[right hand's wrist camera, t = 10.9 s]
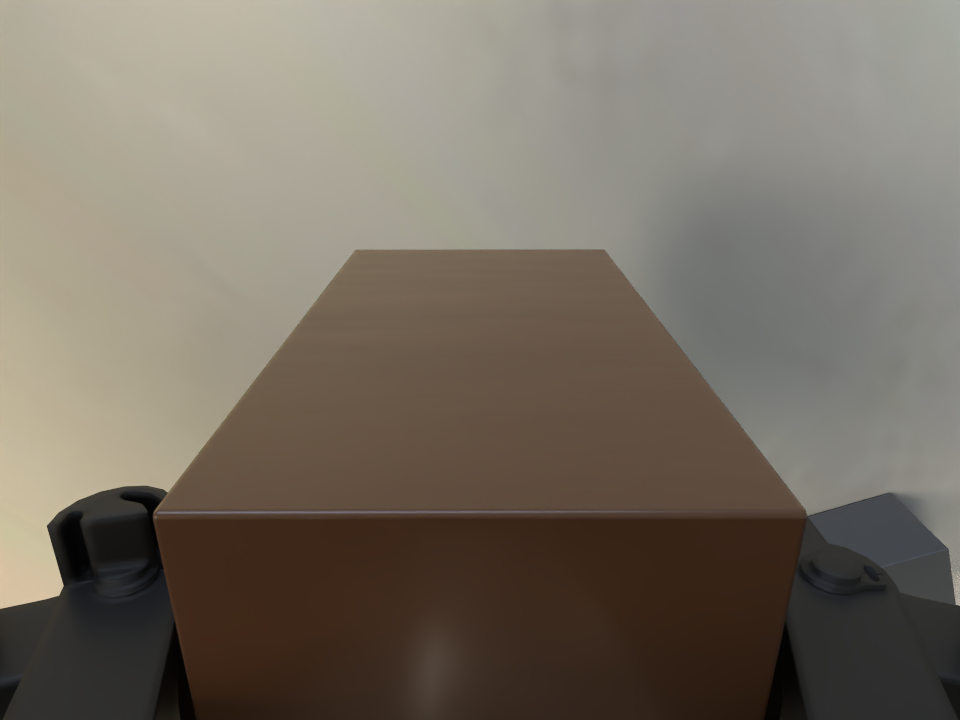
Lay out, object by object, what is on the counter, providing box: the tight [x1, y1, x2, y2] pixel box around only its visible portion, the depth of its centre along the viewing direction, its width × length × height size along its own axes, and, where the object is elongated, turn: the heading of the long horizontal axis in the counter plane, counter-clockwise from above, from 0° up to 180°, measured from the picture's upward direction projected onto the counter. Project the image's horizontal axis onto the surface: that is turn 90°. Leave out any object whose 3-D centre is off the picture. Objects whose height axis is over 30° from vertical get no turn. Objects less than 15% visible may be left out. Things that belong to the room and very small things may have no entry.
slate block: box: [808, 493, 956, 605], centre depth 29 cm, size 4×4×4 cm
